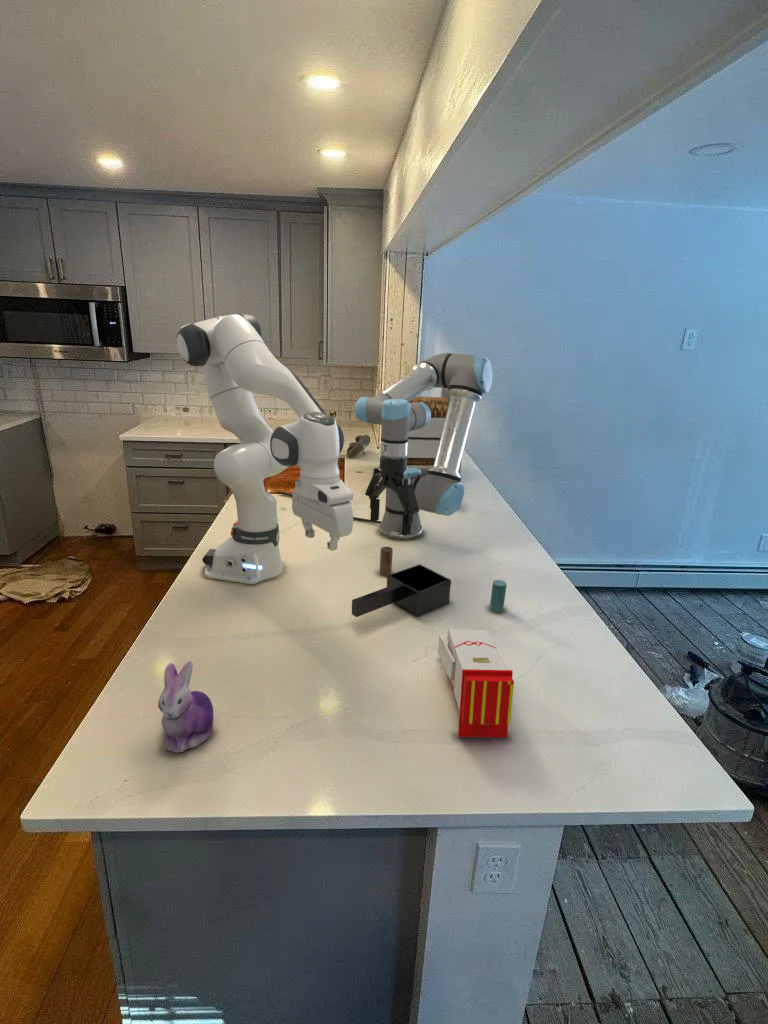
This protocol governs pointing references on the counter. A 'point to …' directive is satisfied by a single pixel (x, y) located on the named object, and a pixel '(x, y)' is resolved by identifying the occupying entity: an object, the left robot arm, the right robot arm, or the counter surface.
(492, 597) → the teal peg
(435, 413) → the white slatted crate
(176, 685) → the figurine
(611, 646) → the counter surface
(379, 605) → the black box with handle
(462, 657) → the toy
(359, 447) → the fossil
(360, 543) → the counter surface
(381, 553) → the walnut peg
